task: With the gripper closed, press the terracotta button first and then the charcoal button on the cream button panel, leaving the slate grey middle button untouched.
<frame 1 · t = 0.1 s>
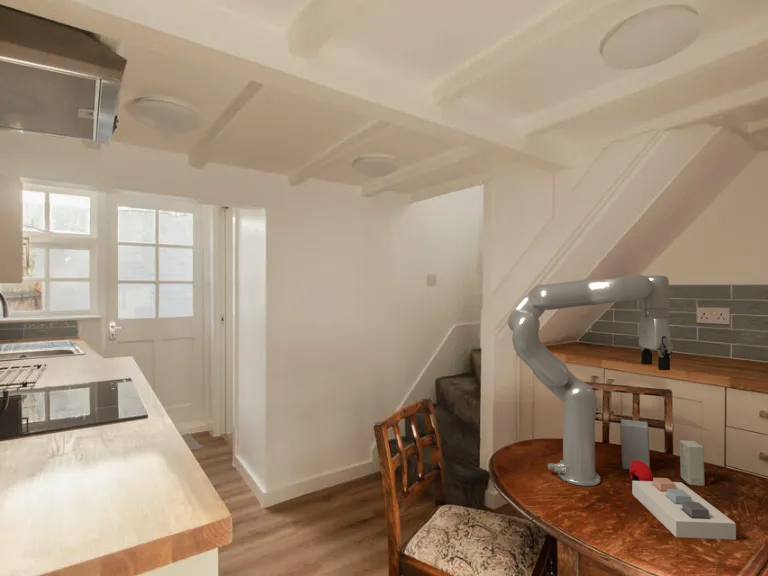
hand: (655, 366, 136), 37 cm above the table, tool pointing down, fingers open, 9 cm apart
skincare box 2: (691, 481, 136), on the table
cap: (641, 481, 136), on the table
charcoal button: (695, 511, 109), point 5 cm above the table, slide at 0.0 cm
button panel: (678, 514, 116), on the table
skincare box: (635, 468, 146), on the table
slate button: (678, 498, 116), point 5 cm above the table, slide at 0.0 cm
terracotta button: (664, 486, 123), point 5 cm above the table, slide at 0.0 cm
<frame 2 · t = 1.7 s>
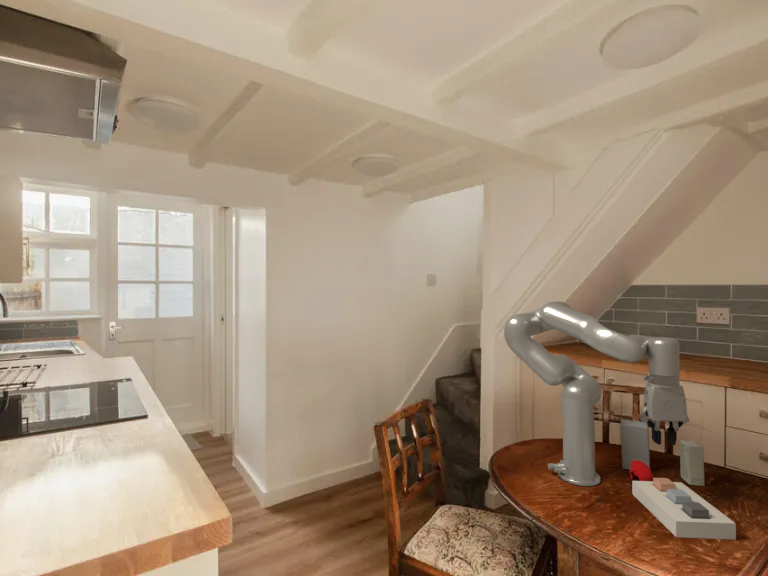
hand: (664, 442, 123), 17 cm above the table, tool pointing down, fingers open, 3 cm apart
nothing on the table moved.
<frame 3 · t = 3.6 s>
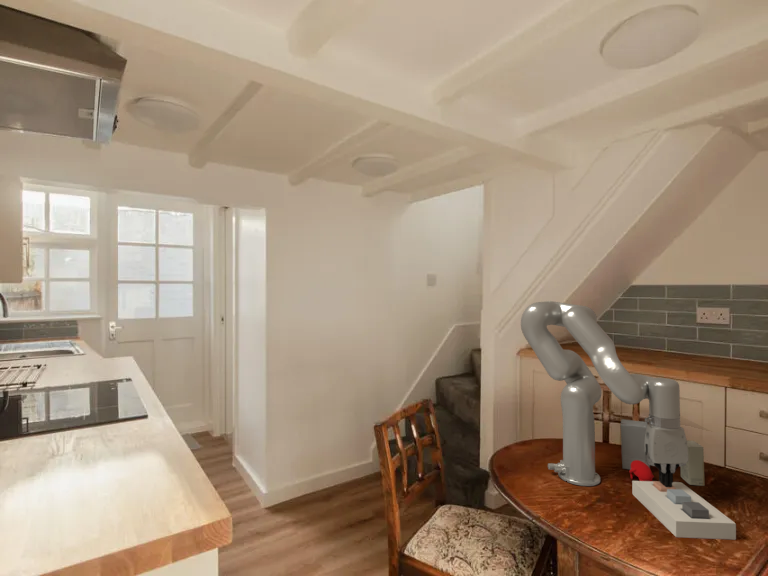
hand: (666, 484, 123), 5 cm above the table, tool pointing down, fingers closed
terracotta button: (664, 489, 123), point 3 cm above the table, slide at 1.0 cm, touching gripper
everything else where it was.
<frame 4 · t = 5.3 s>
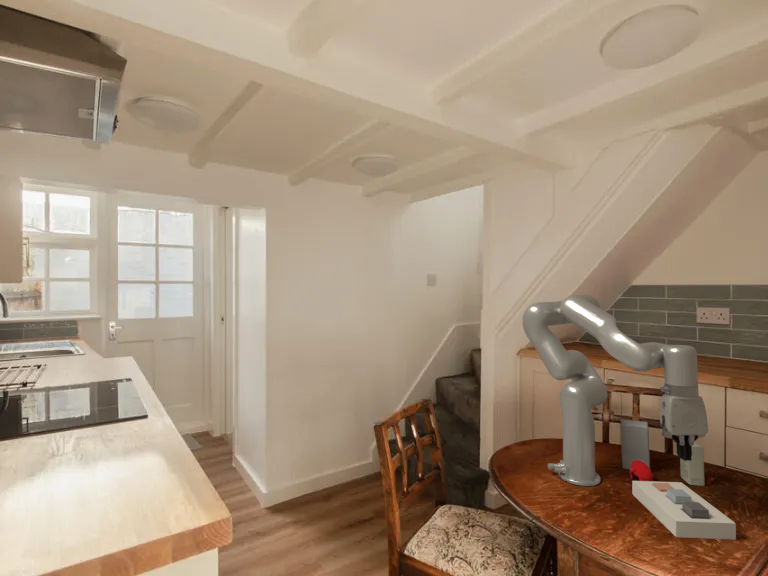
hand: (684, 458, 115), 16 cm above the table, tool pointing down, fingers closed
terracotta button: (664, 491, 123), point 3 cm above the table, slide at 1.5 cm
everything else where it was.
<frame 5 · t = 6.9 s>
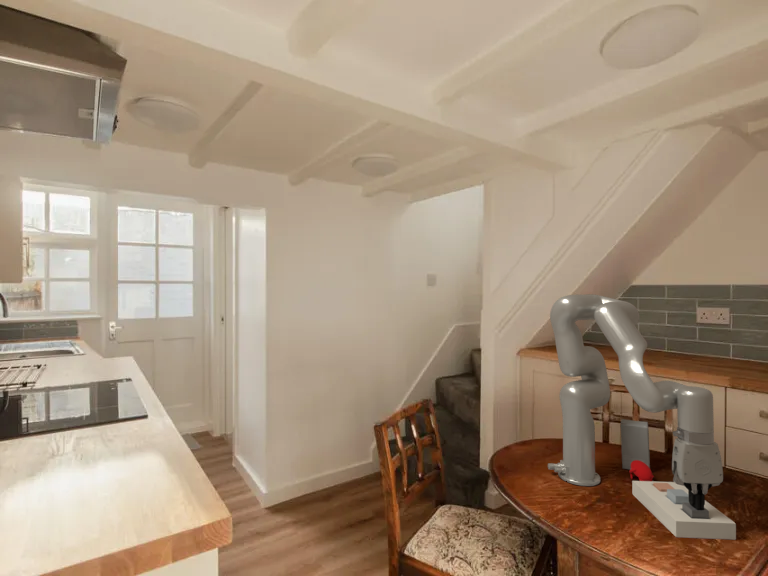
hand: (696, 507, 109), 6 cm above the table, tool pointing down, fingers closed
charcoal button: (695, 512, 109), point 4 cm above the table, slide at 0.2 cm, touching gripper
everything else where it was.
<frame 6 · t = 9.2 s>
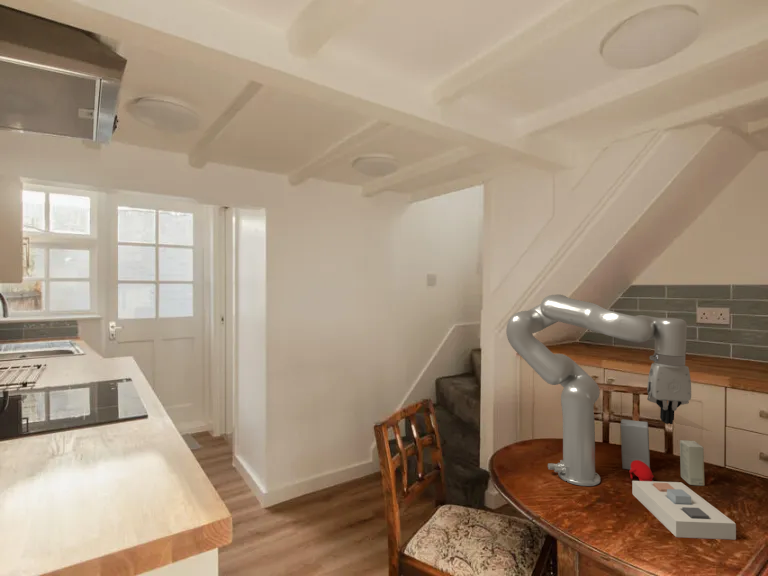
hand: (666, 422, 124), 23 cm above the table, tool pointing down, fingers closed
charcoal button: (695, 517, 109), point 3 cm above the table, slide at 1.5 cm
everything else where it was.
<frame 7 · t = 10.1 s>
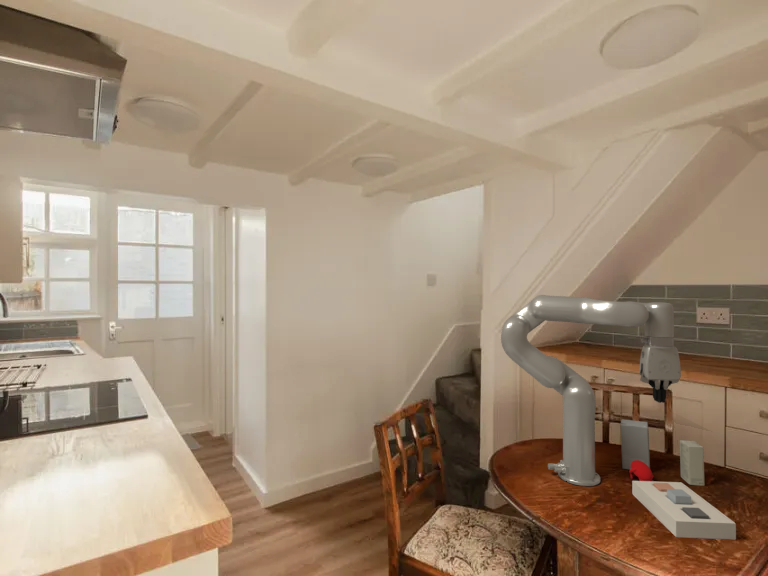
hand: (659, 401, 131), 27 cm above the table, tool pointing down, fingers closed
nothing on the table moved.
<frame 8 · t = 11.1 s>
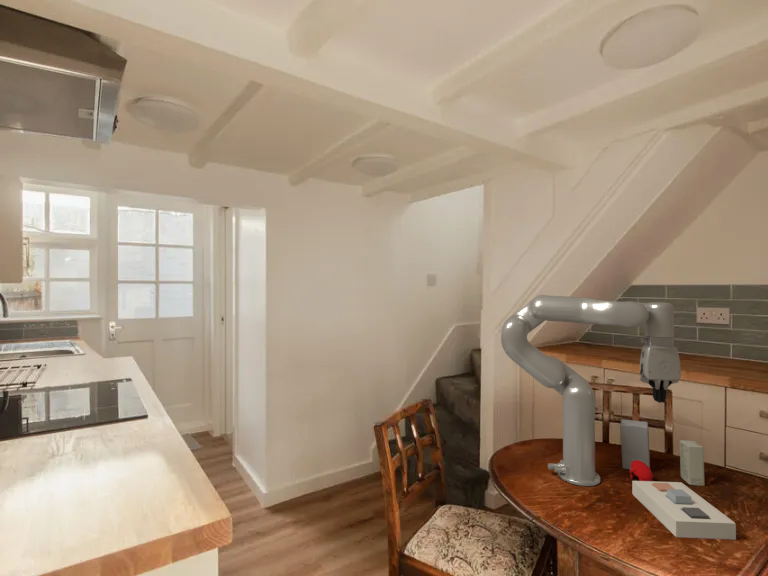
hand: (659, 401, 131), 27 cm above the table, tool pointing down, fingers closed
nothing on the table moved.
at the end: terracotta button slide at 1.5 cm; charcoal button slide at 1.5 cm; slate button slide at 0.0 cm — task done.
